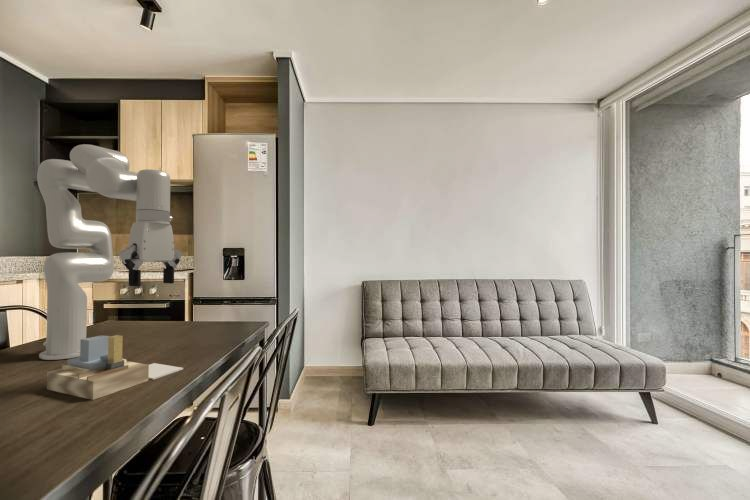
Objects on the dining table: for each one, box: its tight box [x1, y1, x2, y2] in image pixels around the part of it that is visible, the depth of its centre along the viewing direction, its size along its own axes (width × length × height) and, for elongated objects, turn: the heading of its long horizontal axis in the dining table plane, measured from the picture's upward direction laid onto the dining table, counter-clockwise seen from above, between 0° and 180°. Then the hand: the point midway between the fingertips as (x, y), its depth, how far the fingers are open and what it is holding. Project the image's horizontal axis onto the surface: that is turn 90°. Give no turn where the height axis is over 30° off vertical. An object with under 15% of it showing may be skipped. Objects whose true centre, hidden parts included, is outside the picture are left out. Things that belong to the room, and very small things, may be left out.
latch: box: [100, 334, 124, 371], centre depth 88 cm, size 5×3×8 cm, turn 70°
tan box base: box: [46, 358, 150, 400], centre depth 89 cm, size 16×13×5 cm
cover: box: [66, 334, 110, 371], centre depth 90 cm, size 9×7×7 cm
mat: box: [148, 362, 184, 381], centre depth 99 cm, size 11×9×1 cm
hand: (152, 284), depth 95 cm, fingers open, 9 cm apart
